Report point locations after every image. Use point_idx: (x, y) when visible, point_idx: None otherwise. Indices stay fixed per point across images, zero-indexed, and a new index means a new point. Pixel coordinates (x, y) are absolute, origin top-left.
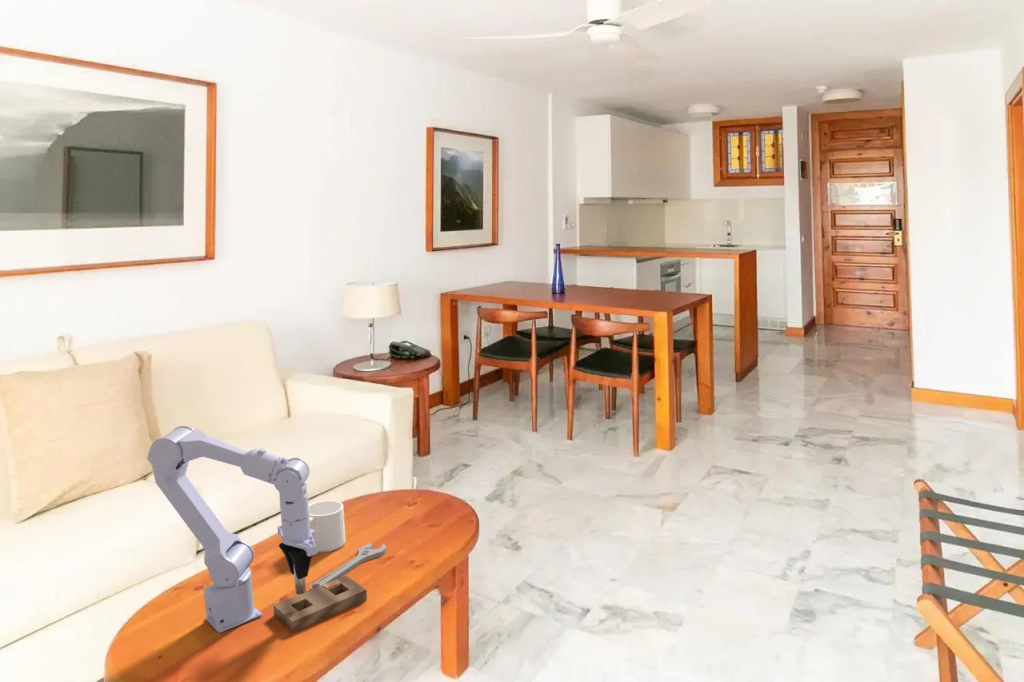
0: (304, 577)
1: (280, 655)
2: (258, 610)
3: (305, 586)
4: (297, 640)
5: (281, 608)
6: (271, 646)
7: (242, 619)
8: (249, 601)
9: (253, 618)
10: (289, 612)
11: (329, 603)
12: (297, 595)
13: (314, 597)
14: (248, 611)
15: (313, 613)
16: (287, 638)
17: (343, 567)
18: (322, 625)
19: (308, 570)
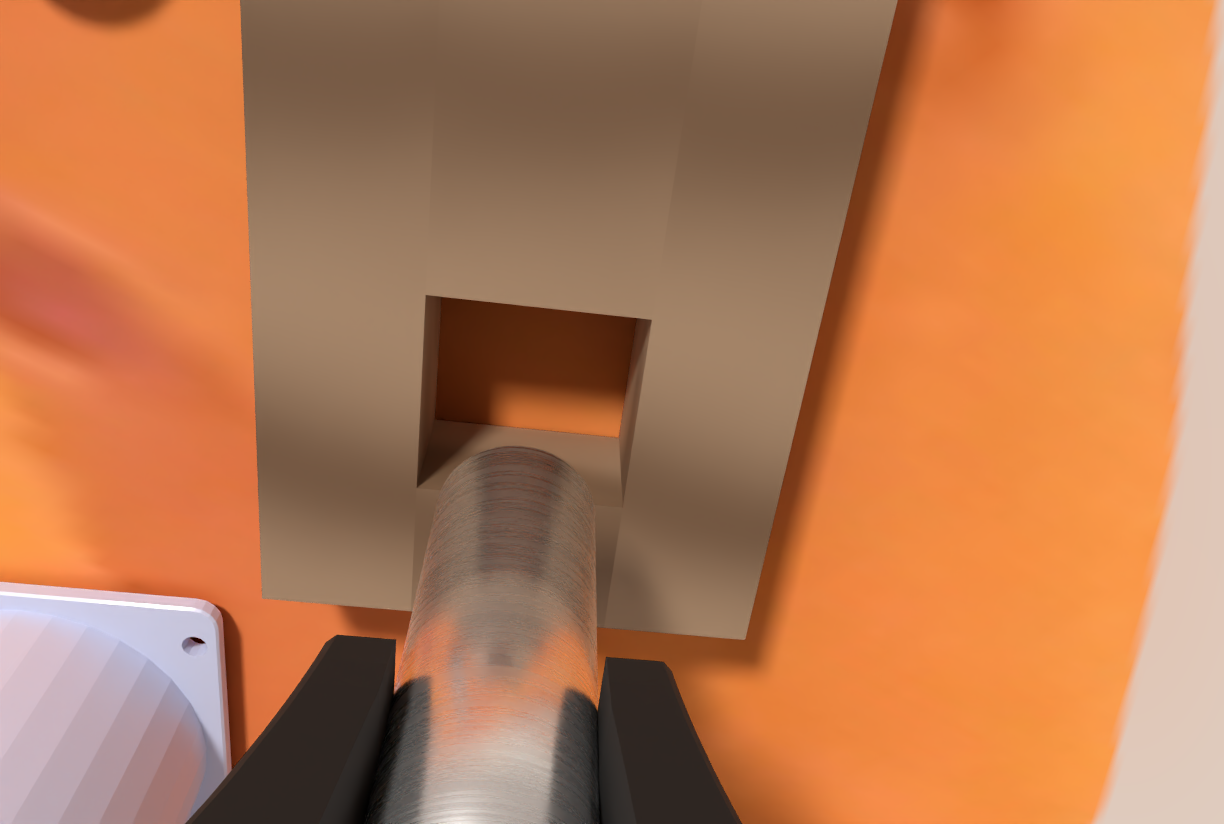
0: (584, 645)
1: (919, 763)
2: (124, 607)
3: (573, 517)
4: (873, 596)
5: (407, 582)
6: (748, 750)
7: (203, 769)
8: (113, 818)
9: (224, 677)
10: None
11: (810, 161)
12: (260, 319)
13: (490, 199)
14: (169, 757)
15: (795, 407)
16: (766, 630)
17: None
18: (890, 321)
19: (694, 734)
